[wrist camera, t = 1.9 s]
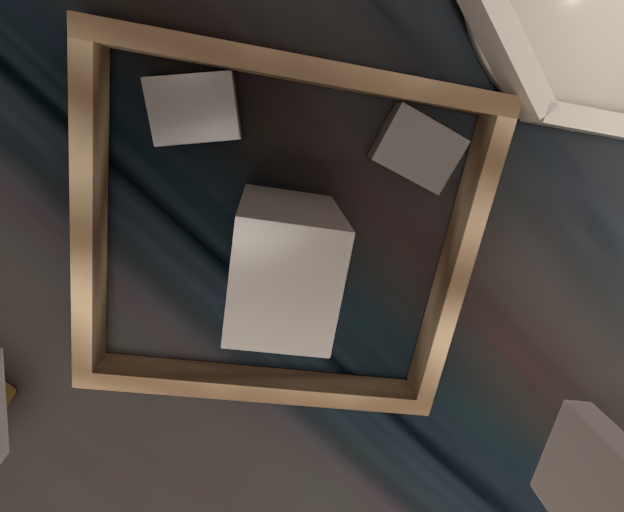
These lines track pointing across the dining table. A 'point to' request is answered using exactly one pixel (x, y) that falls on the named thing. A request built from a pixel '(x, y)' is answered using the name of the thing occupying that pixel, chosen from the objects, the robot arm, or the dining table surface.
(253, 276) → the pale grey block
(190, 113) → the light grey block
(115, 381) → the wooden frame
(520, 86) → the bowl
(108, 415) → the dining table surface
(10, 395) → the cheese
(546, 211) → the dining table surface
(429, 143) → the grey rectangular block
